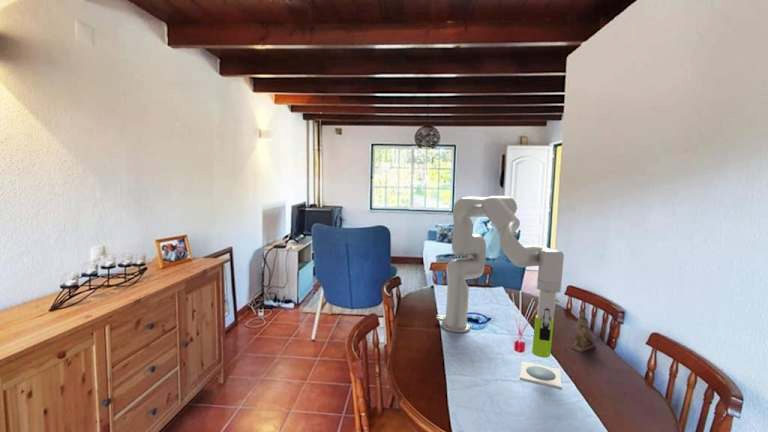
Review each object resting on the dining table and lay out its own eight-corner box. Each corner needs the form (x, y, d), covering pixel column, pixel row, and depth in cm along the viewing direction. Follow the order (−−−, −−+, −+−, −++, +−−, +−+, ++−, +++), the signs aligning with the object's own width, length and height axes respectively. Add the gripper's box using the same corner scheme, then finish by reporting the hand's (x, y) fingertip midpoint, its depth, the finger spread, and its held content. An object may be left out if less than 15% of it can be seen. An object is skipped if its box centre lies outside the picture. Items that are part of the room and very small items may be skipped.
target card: (519, 379, 130) (519, 377, 130) (521, 362, 142) (522, 360, 142) (561, 388, 125) (561, 386, 125) (560, 370, 137) (560, 369, 137)
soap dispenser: (555, 359, 130) (561, 301, 128) (533, 356, 131) (539, 299, 129) (551, 351, 135) (556, 296, 133) (530, 349, 137) (535, 294, 135)
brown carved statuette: (580, 358, 154) (580, 317, 150) (568, 352, 159) (567, 312, 155) (597, 346, 160) (597, 307, 156) (585, 341, 165) (584, 302, 161)
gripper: (537, 278, 140) (533, 325, 142) (536, 290, 124) (531, 343, 126) (560, 281, 137) (555, 329, 139) (562, 293, 121) (556, 348, 123)
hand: (544, 335), depth 132 cm, fingers closed on soap dispenser, 5 cm apart
